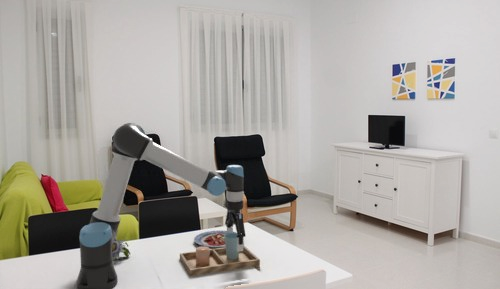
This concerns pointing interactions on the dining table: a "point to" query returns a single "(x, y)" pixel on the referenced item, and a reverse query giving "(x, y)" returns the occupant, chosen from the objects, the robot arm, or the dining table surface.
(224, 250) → the divided wooden tray
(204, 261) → the tan rounded piece
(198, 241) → the ceramic plate
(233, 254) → the cup
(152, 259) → the dining table surface
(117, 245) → the passion flower
